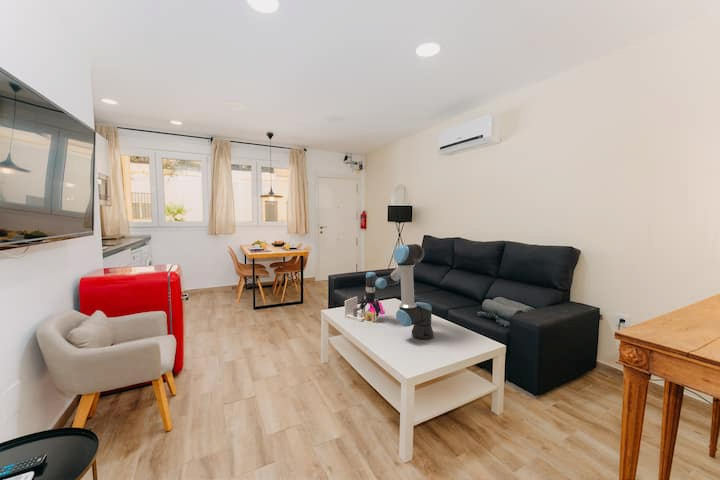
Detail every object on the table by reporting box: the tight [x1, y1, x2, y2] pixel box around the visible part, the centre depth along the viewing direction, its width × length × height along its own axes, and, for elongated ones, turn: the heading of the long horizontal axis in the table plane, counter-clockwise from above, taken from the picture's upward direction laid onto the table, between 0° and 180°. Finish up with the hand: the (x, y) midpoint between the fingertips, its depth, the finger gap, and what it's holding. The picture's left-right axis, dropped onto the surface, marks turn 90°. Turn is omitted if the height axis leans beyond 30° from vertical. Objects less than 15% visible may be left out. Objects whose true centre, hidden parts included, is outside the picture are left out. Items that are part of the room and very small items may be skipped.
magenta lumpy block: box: [367, 300, 385, 315], centre depth 251 cm, size 12×10×10 cm
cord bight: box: [364, 310, 377, 323], centre depth 231 cm, size 8×4×7 cm, turn 53°
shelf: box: [344, 296, 372, 323], centre depth 241 cm, size 17×16×14 cm
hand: (370, 318), depth 232 cm, fingers open, 11 cm apart
